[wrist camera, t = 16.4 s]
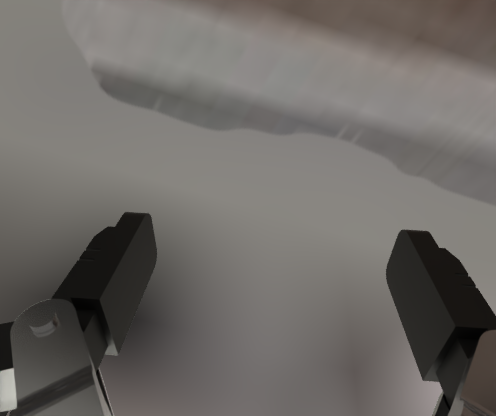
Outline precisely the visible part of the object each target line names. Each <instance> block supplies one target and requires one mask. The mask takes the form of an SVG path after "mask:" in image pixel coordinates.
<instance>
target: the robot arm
mask: <svg viewBox="0 0 496 416" xmlns="http://www.w3.org/2000/svg"><path fill="white" fill-rule="evenodd" d="M156 258H157V248H156V242H155V236H154V230H153V224H152V219H151V216H150V214H148V213H133V212H125V213H124V214H123V215H122V217H121V218H120V220H119V222H118V223H117V225H116V226H115V227H107V228H105V229H104V230H103V231H101V232H100V233H98V234H97V235H96V236H94V238H93V239H92V241H91V242H90V243H89V245H88V247H87V248H86V251H84V252H83V254H82V255H81V256H80V259H79V261H77V262H76V264H75V265H74V267H73V268H72V269H71V271H70V272H69V274H68V275H67V277H66V278H65V279H64V281H63V282H62V284H61V285H60V287H59V288H58V290H57V291H56V292H55V294H54V295H53V297H52V298H51V299H49V300H45V301H42V302H39V303H37V304H35V305H33V306H31V307H29V308H28V309H26V310H25V311H24V312H22V314H20V315H19V316H18V317H17V319H16V320H15V321H14V322H9V323H4V324H0V416H6V415H7V413H8V411H9V410H11V409H14V410H12V411H11V412H10V414H9V416H114V414H113V411H112V407H111V404H110V401H109V398H108V395H107V392H106V388H105V385H104V382H103V379H102V376H101V372H100V369H99V365H100V363H101V361H102V359H103V356H104V355H119V352H120V350H121V348H122V345H123V343H124V340H125V338H126V335H127V333H128V331H129V328H130V326H131V323H132V321H133V318H134V316H135V314H136V311H137V309H138V306H139V304H140V302H141V299H142V297H143V294H144V292H145V289H146V287H147V284H148V282H149V280H150V277H151V275H152V273H153V270H154V268H155V264H156ZM386 279H387V284H388V287H389V289H390V292H391V295H392V298H393V300H394V303H395V306H396V309H397V311H398V314H399V317H400V320H401V322H402V325H403V328H404V330H405V333H406V336H407V339H408V341H409V344H410V346H411V349H412V352H413V355H414V358H415V360H416V363H417V366H418V368H419V371H420V374H421V377H422V380H423V381H436V382H440V384H441V387H442V389H443V392H442V393H441V395H440V396H439V399H438V401H437V404H436V406H435V409H434V412H433V414H432V416H496V316H495V314H494V313H493V311H492V310H491V308H490V306H489V305H488V303H487V302H486V300H485V299H484V298H483V296H482V294H481V293H480V291H479V290H478V288H476V287H475V286H476V285H475V283H474V282H473V281H472V279H471V277H468V273H467V271H466V270H465V268H464V267H463V265H462V264H461V262H460V260H458V259H457V258H456V257H455V256H454V255H452V254H451V253H450V252H449V251H448V250H446V249H445V248H439V247H438V245H437V244H436V242H435V240H434V239H433V237H432V235H431V234H430V233H429V232H428V231H417V230H401V231H400V232H399V234H398V236H397V239H396V242H395V245H394V248H393V250H392V254H391V256H390V259H389V262H388V264H387V269H386ZM15 408H16V409H15Z"/></svg>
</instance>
